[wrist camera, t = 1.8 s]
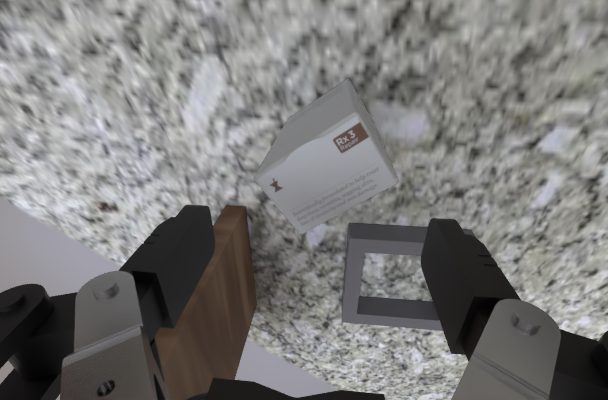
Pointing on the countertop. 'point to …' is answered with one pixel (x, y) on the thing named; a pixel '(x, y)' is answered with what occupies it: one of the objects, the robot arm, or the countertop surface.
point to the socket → (384, 309)
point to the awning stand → (213, 314)
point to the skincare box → (326, 160)
